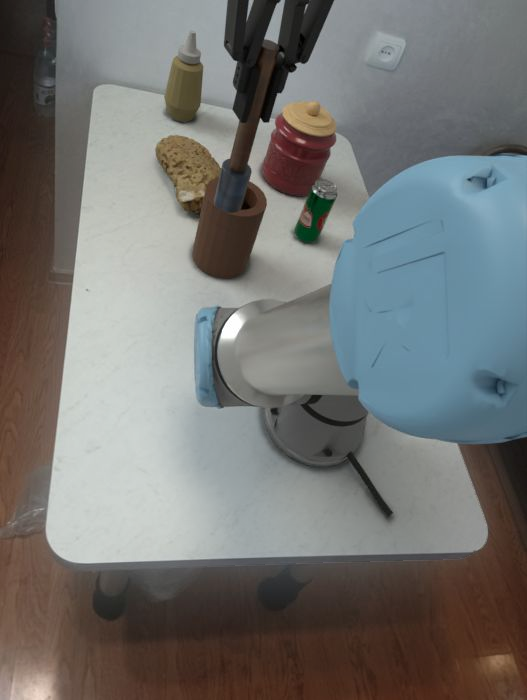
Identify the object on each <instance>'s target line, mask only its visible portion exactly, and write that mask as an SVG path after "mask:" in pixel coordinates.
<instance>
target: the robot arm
mask: <svg viewBox="0 0 527 700" xmlns="http://www.w3.org/2000/svg"><path fill="white" fill-rule="evenodd" d="M281 1H282V0H253V1H252V4H251V6H250V10H249V4H250V0H227V1H226V2H227V3H226V14H225V26H224V37H223V47H224V49H225V51H226V52H227V53H228V55H229V56H230V57H231V59H232V60H233V61H235V62H236V64H235V65H236V66H235V69H234V75H233V78H232V86H233V88H234V89H235V90H236V91H235V96H234V101H233V104H232V105H233V106H232V111H233V113H234V114H235V116H236V117H237V119H238V122H239V121H240V122H241V123H247V119H248V115H249V112H250V108H251V104H252V100H253V96H254V92H255V88H256V84H257V81H258V77H259V73H260V68H259V67H258V66H257V64H256V60H257V58H258V55H259V52H260V49H261V46H262V44H263V41H264V39H266V35H267V32H268V30H269V26H270V24H271V21H272V18H273V16H274V13H275V10H276V7H277V4H280V3H281ZM283 2H284V3H283V9H282V15H281V20H280V26H279V32H278V39H277V43H276V44H277V45H278V46H279V52H278V56H277V60H276V63H275V67H274V70H273V74H272V78H271V81H270V85H269V89H268V92H267V96H266V99H265V103H264V107H263V110H262V114H261V117H260V120H261V121H262V123H265V124H266V123H267V124H269V123H270V122H271V121H270V120H271V118H272V117H271V116H272V113H273V110H274V107H275V104H276V100H277V96H278V94H282V93H283V92H284V90H285V86H286V84H287V81H288V77H289V73H290V74H291V73H294V72H295V71H296V70H297V68H298V66H297V64H299V63H300V64H302V65H305V64H307V63H308V62H309V60H310V58H311V56H312V53H313V51H314V48H315V46H316V45H317V42H318V39H319V37H320V35H321V33H322V30H323V28H324V26H325V23H326V21H327V18H328V16H329V14H330V11H331V9H332V7H333V4H334V2H335V0H284V1H283ZM248 10H249V13H248ZM352 227H353V237H352V238H348V239H345V240H343V241H342V243H341V246H340V249H339V252H338V255H337V258H336V259H335V264H334V267H333V268H334V269H333V273H332V278H331V282H330V283H329V284H326V285H325V286H322V287H320V288H318V289H315V290H313V291H311V292H308V293H305V294H303V295H301V296H299V297H296V298H294V299H292V300H290V301H287V302H286V301H284V300H280V299H275V298H266V299H258V300H254V301H251V302H248V303H245V304H244V305H242V306H240V307H222V306H220V305H215V306H212V307H203V308H200V309H199V310H198V311H197V313H196V315H195V321H194V335H193V371H194V387H195V388H194V389H195V396H196V400H197V402H198V404H199V405H201V406H202V407H205V408H217V409H218V410H220V409H224V408H229V407H230V408H231V407H232V408H233V407H254V408H262V409H263V422H264V426H265V428H266V431H267V433H268V435H269V437H270V438H271V440H272V442H273V443H274V444H275V446H277V448H278V449H280V450H281V452H283V453H284V454H285V455H287V456H288V457H289V458H291V459H293V460H295V461H297V462H299V463H301V464H304V465H307V466H312V467H319V468H320V467H322V468H324V467H332V466H335V465H339V464H341V463H342V462H344V461H346V460H347V459H348V461H349V462H350V464H351V466H352V467H353V468H354V471H356V473H357V474H358V476H359V477H360V479H361V480H362V482H363V483H364V485H365V486H366V488H367V489H368V491H369V493H370V494H371V496H372V498H373V499H374V500H375V502H376V504H377V505H378V506H379V508H380V509H381V511H382V512H383V513H384V514H385V515H386V517H387V518H389V517H391V516H392V515H393V514H394V512H393V511H392V509H391V508H390V507H389V505H388V504H387V503H386V501H385V500H384V498H383V497H382V496H381V494H380V492H379V491H378V489H377V487H376V486H375V484H374V483H373V481H372V480H371V478H370V477H369V476H368V474H367V472H366V471H365V469H364V468H363V466H362V465H361V464H360V462H359V461H358V459H357V457H356V456H355V454H354V452H355V451H356V450H357V448H358V447H359V445H360V444H361V442H362V439H363V437H364V433H365V428H366V423H367V417H368V414H370V415H371V416H373V417H374V418H375V419H376V420H377V421H379V422H381V423H382V424H384V425H386V426H387V427H389V428H391V429H393V430H395V431H397V432H399V433H402V434H405V435H408V436H412V437H416V438H421V439H426V440H438V441H441V442H447V443H451V444H461V445H486V444H487V445H488V444H489V445H490V444H499V443H500V444H501V443H505V442H509V441H513V440H518V439H523V438H527V155H523V154H522V155H521V154H512V153H506V152H505V153H504V152H501V153H496V154H492V155H463V154H462V155H460V154H459V155H448V156H447V155H446V156H441V157H436V158H432V159H428V160H425V161H421V162H419V163H416V164H414V165H412V166H410V167H408V168H406V169H404V170H402V171H400V172H399V173H397V174H396V175H394V176H392V177H391V178H390V179H389V180H387V182H385V183H384V184H383V185H381V187H379V188H378V189H377V190H376V191H375V192H374V193H373V194H372V195H371V196H370V197H369V198H368V200H367V201H366V202H365V203H364V205H363V206H362V207H361V209H360V210H359V211H358V213H357V214H356V216H355V218H354V219H353V221H352Z"/></svg>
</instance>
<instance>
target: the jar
mask: <svg viewBox="0 0 527 700" xmlns="http://www.w3.org/2000/svg"><path fill="white" fill-rule="evenodd" d="M218 180H219V177H216V178H214V179H212V180H211V181H209V183H208V184H207V186H206V189H205V194H204V199H203V204H202V208H201V213H199V219H198V223H197V227H196V232H195V237H194V242H193V246H192V252H191V253H192V256H191V257H192V261H193V262H194V264H195V265H196V267H197V268H198V269H199V270H200V271H202V272H204V273H205V274H206V275H207V276H210V277H213V278H217V279H234V278H237V277H239V276H240V275H242V274H243V273H244V272H245V271H246V269H247V266H248V264H249V261H250V258H251V255H252V252H253V249H254V246H255V243H256V239H257V236H258V233H259V231H260V228H261V225H262V222H263V218H264V215H265V213H266V209H267V205H268V199H267V197H266V195H265V193H264V191H263V190H262V189H261V188H260V187H259V186H258V185H256V184H255V183H253V182H252V181H250V180H249V183H248V186H247V190H246V193H245V197H244V200H243V204H242V207H241V209H240V210H239V211H238V212H235V213H228V212H224V211H222V210H220V209H219V208H218V207H217V206H216V205H215V203H214V197H215V193H216V189H217V185H218Z"/></svg>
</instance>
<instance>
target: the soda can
mask: <svg viewBox="0 0 527 700" xmlns="http://www.w3.org/2000/svg"><path fill="white" fill-rule="evenodd" d="M337 186H338V185H336V184H335V183H334V182H332V181H331V180H329V179H326V178H321V179H318V180H317V181H316V182H315V183H314V184H313V185H312V186H311V189H310V191H309V194H308V195H306V196H307V197H306V199H305V202H304V204H303V207H302V209H301V213H300V214H299V217H298V220H297V222H296V225H295V227H294V234H295V237H296V238H297V239H298V240H300V241H301V242H303V243H307V244H312V243H316V242H317V241H318V240H319V239H320V236H321V233H322V231H323V229H324V227H325V225H326V222H327V220H328V218H329V216H330V213H331V211H332V210H333V209H332V208H333V206H334V204H335V202H336V200H337V198H338V187H337Z"/></svg>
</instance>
